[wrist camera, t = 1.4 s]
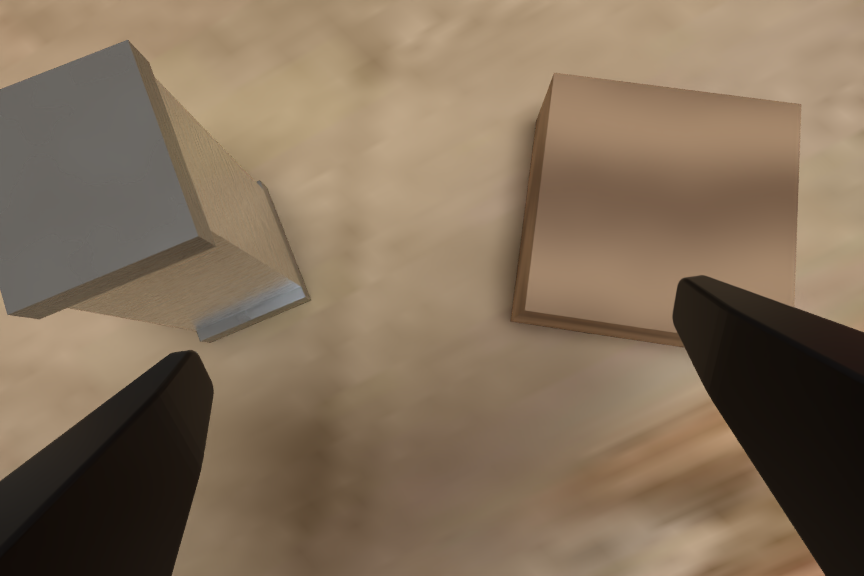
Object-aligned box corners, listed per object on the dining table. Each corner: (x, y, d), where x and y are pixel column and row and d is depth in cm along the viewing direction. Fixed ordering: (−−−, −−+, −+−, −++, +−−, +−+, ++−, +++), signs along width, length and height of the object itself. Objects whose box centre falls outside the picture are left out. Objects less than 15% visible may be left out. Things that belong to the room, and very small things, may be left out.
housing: (310, 299, 23) (198, 236, 13) (210, 342, 23) (7, 314, 12) (267, 188, 24) (127, 39, 14) (170, 227, 24) (-51, 109, 13)
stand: (731, 354, 23) (792, 350, 19) (510, 321, 23) (524, 310, 19) (742, 148, 24) (801, 104, 20) (536, 120, 25) (554, 72, 21)
